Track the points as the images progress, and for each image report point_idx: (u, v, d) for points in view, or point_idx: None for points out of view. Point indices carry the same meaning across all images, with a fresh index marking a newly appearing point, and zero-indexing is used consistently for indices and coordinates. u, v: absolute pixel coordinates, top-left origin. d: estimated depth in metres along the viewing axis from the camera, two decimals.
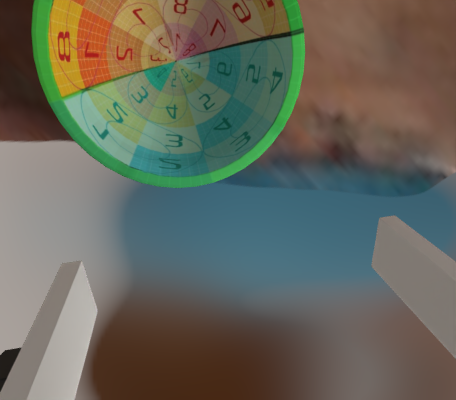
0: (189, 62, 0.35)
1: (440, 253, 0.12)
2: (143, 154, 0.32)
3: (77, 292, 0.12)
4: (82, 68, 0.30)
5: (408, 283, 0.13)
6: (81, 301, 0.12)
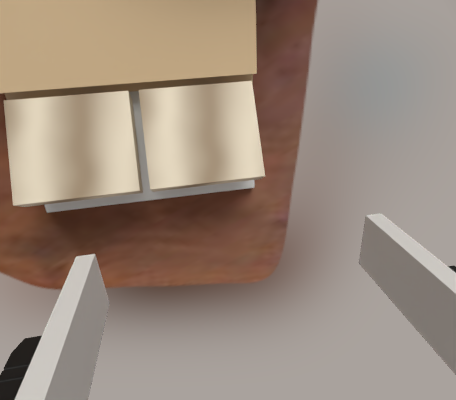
0: None
1: (423, 249, 0.13)
2: None
3: (91, 284, 0.13)
4: None
5: (392, 279, 0.13)
6: (95, 293, 0.13)
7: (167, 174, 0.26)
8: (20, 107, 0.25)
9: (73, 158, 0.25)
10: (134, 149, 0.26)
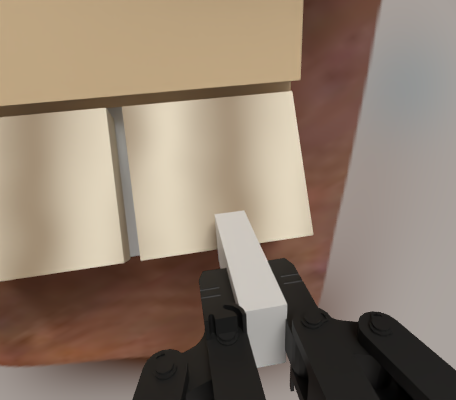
0: None
1: (258, 243, 0.14)
2: None
3: None
4: None
5: None
6: None
7: (166, 236, 0.17)
8: None
9: (20, 215, 0.16)
10: (115, 198, 0.17)
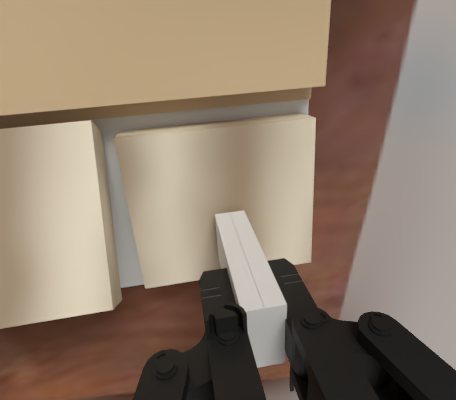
0: None
1: (258, 243, 0.14)
2: None
3: None
4: None
5: None
6: None
7: (169, 268, 0.17)
8: None
9: None
10: (103, 230, 0.14)
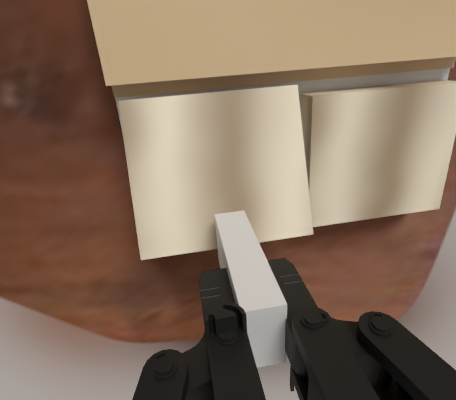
0: None
1: (258, 243, 0.14)
2: None
3: None
4: None
5: None
6: None
7: (330, 210, 0.20)
8: (143, 111, 0.16)
9: (222, 189, 0.17)
10: (305, 174, 0.18)
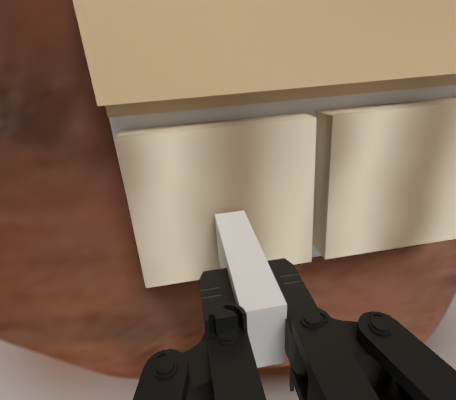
0: None
1: (258, 243, 0.14)
2: None
3: None
4: None
5: None
6: None
7: (349, 240, 0.18)
8: (144, 150, 0.14)
9: None
10: (311, 208, 0.17)
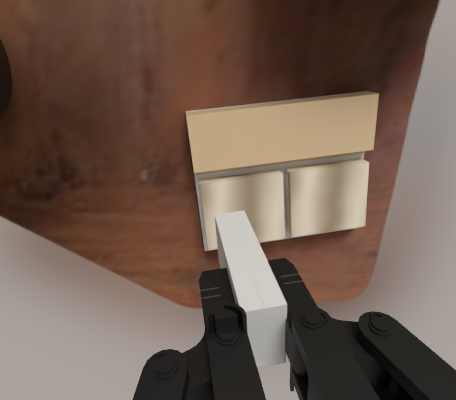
0: None
1: (258, 243, 0.14)
2: None
3: None
4: None
5: None
6: None
7: (303, 227, 0.39)
8: (210, 189, 0.35)
9: None
10: (283, 212, 0.38)
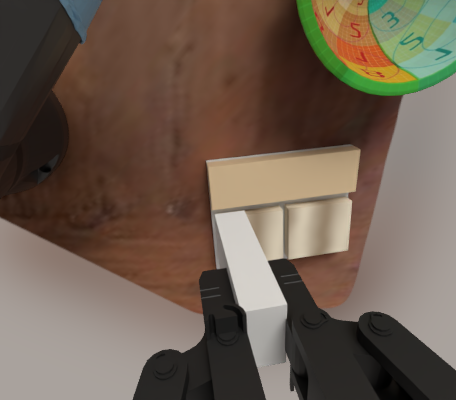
0: None
1: (258, 243, 0.14)
2: None
3: None
4: (378, 65, 0.35)
5: None
6: None
7: (297, 252, 0.47)
8: None
9: None
10: (282, 240, 0.46)
